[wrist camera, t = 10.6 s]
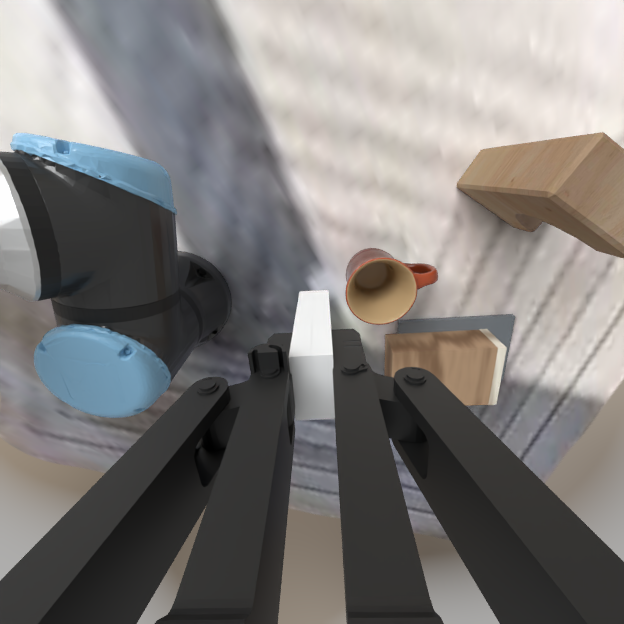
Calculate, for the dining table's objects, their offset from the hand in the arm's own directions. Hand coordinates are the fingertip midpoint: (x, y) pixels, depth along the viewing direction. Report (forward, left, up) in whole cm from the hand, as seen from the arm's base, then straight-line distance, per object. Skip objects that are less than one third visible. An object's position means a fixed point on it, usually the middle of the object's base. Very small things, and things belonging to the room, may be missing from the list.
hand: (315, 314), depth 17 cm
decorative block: (+25, +3, -33) cm, 41 cm away
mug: (+9, -7, -33) cm, 35 cm away
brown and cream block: (+10, -23, -29) cm, 38 cm away
